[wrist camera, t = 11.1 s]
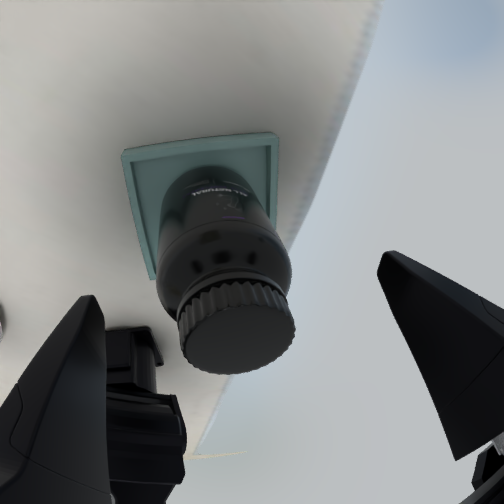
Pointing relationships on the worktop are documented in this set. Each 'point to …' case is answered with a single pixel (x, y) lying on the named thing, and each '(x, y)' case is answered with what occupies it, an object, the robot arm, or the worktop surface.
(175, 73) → the worktop surface
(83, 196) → the worktop surface
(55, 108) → the worktop surface
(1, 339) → the flower in vase
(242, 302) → the supplement bottle
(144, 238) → the tray
